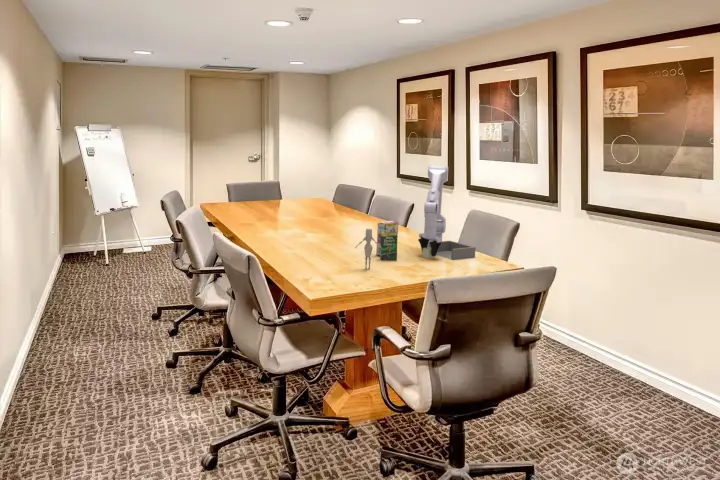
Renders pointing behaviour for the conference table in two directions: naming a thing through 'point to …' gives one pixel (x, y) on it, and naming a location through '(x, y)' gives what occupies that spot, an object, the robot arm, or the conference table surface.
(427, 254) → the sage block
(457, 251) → the open box
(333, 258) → the conference table surface
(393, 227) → the candy bar box
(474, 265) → the conference table surface
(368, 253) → the human figurine
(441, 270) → the conference table surface
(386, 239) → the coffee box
